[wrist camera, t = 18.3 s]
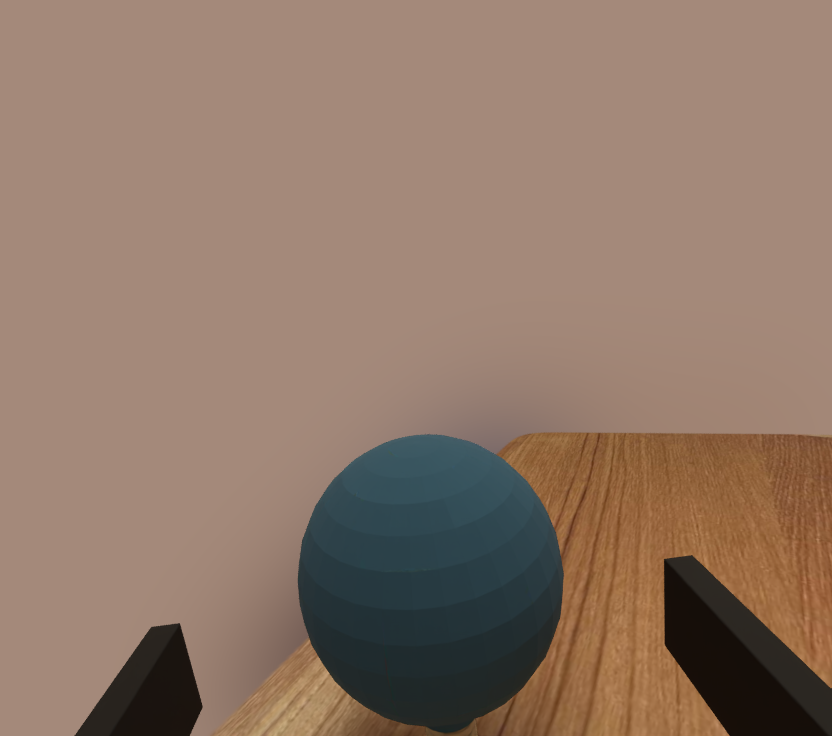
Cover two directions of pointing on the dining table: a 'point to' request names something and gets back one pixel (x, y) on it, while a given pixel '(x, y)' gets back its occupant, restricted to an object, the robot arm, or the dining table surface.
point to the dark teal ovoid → (430, 582)
